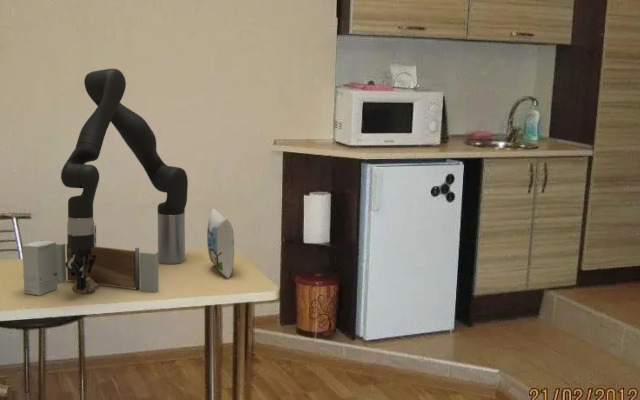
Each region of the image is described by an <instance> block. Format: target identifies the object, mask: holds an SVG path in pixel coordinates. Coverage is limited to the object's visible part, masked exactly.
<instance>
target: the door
mask: <svg viewBox="0 0 640 400" xmlns="http://www.w3.org/2000/svg"><path fill="white" fill-rule="evenodd" d="M65 247H66V262H70V260H71V257H70V256H71V249H69V248H68V245H67V243H65ZM91 254H92V255H96V258H95V261H94V264H93V266H92V269H91V272H90V273H88V274H87V277H90V278H91V279H93V280H94V281H96V282H97V284H99V285H103V286H113V287H121V288H129V289H136V270H135V250H132V249H121V248H113V247H105V246H97V245H96V246H94V247H93V248H91ZM66 277H67V281H71V282H76V281H77V278H76V277H72V276H71V274H70V272H69V270H68V269H67V268H66Z"/></svg>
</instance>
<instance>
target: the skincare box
mask: <svg viewBox="0 0 640 400" xmlns="http://www.w3.org/2000/svg"><path fill="white" fill-rule="evenodd" d="M56 244H57V242H56V241H49V240H38V241H33V242H30V243H26V244H23V245H21V246H22V263H23V264H22V265H23V267H22V268H23V292H24V294H29V295H33V296H42V295H44V294H48V293H49V292H51V291H56V290H57V289H58V282H57V262H56Z"/></svg>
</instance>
